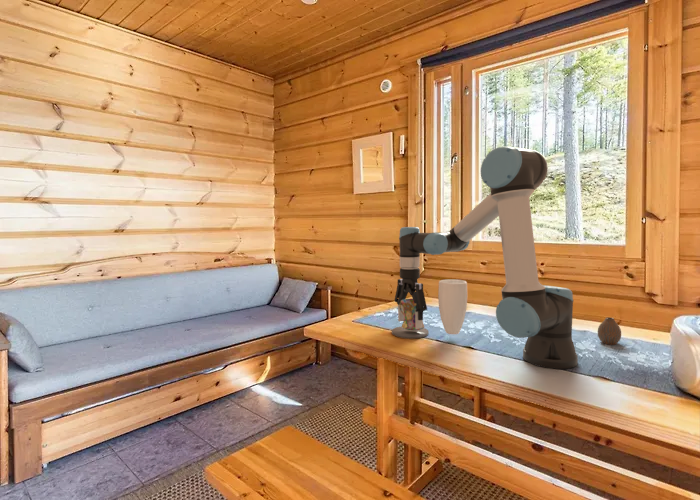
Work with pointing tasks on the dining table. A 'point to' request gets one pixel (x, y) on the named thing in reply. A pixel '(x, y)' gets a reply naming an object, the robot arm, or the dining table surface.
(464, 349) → the dining table surface
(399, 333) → the disc
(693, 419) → the dining table surface
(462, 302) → the cup
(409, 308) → the mug
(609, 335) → the vase
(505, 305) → the robot arm
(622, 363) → the dining table surface
